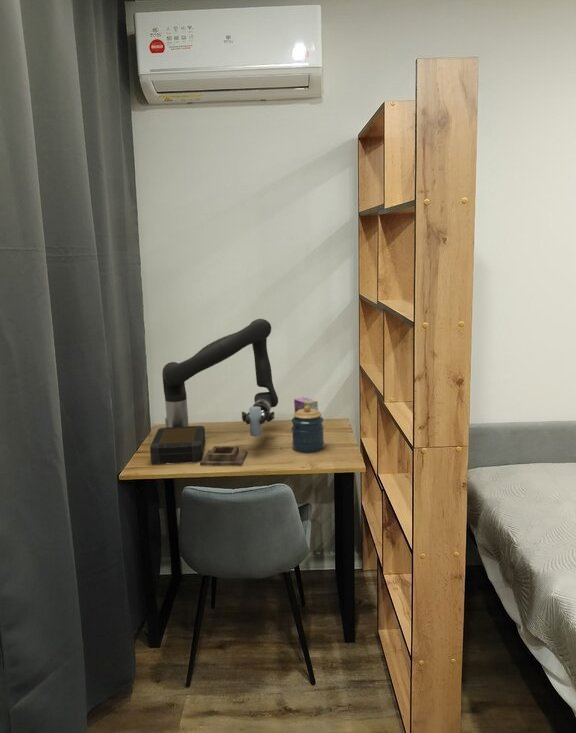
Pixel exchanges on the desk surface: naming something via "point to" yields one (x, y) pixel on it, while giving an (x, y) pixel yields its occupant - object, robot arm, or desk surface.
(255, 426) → the cylinder
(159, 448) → the cash box
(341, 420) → the desk surface
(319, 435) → the canister
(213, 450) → the holder
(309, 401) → the box
